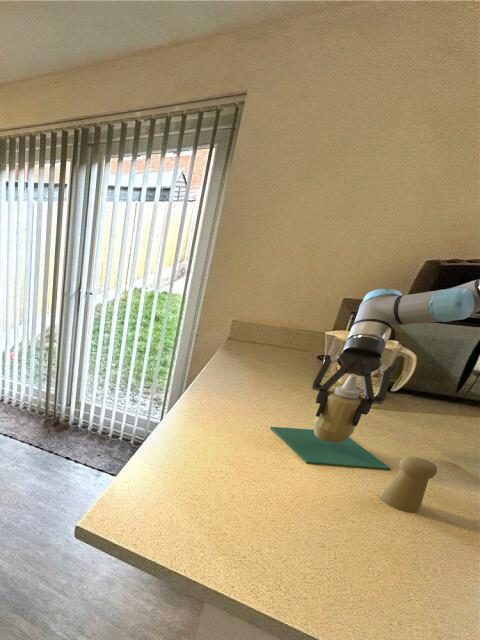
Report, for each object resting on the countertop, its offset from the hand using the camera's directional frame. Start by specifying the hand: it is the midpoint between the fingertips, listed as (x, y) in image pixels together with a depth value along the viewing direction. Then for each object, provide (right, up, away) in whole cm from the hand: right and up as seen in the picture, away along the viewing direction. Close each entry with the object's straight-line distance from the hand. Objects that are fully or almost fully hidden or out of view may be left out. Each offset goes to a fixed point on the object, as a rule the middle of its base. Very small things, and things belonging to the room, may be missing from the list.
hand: (336, 418), depth 99 cm
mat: (+3, -8, +6) cm, 11 cm away
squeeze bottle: (+3, -6, +5) cm, 8 cm away
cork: (+1, -17, -14) cm, 22 cm away
